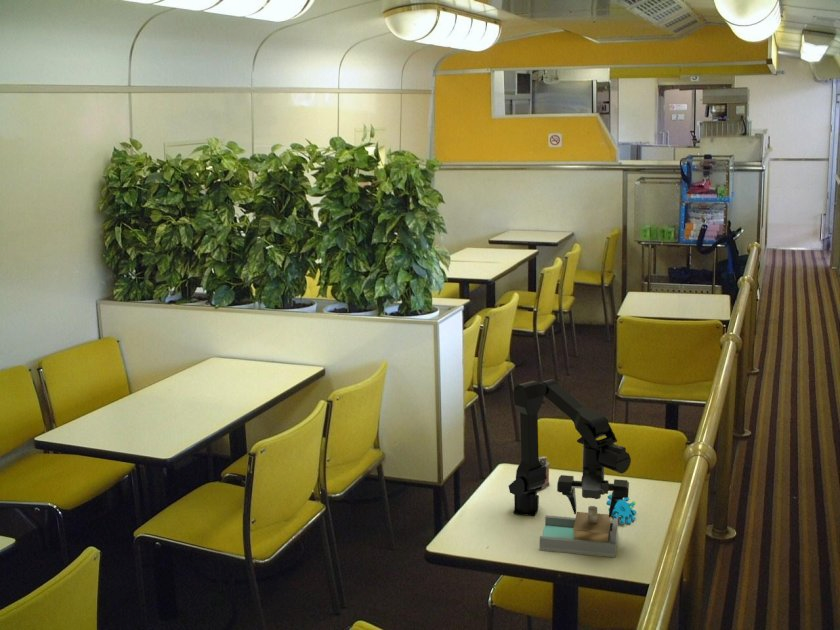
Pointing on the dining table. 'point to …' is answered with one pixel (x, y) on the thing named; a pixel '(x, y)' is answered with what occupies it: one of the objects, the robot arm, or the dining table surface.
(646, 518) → the dining table surface
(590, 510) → the crate
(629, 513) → the gear
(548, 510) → the dining table surface
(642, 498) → the dining table surface
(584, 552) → the bay
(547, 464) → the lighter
